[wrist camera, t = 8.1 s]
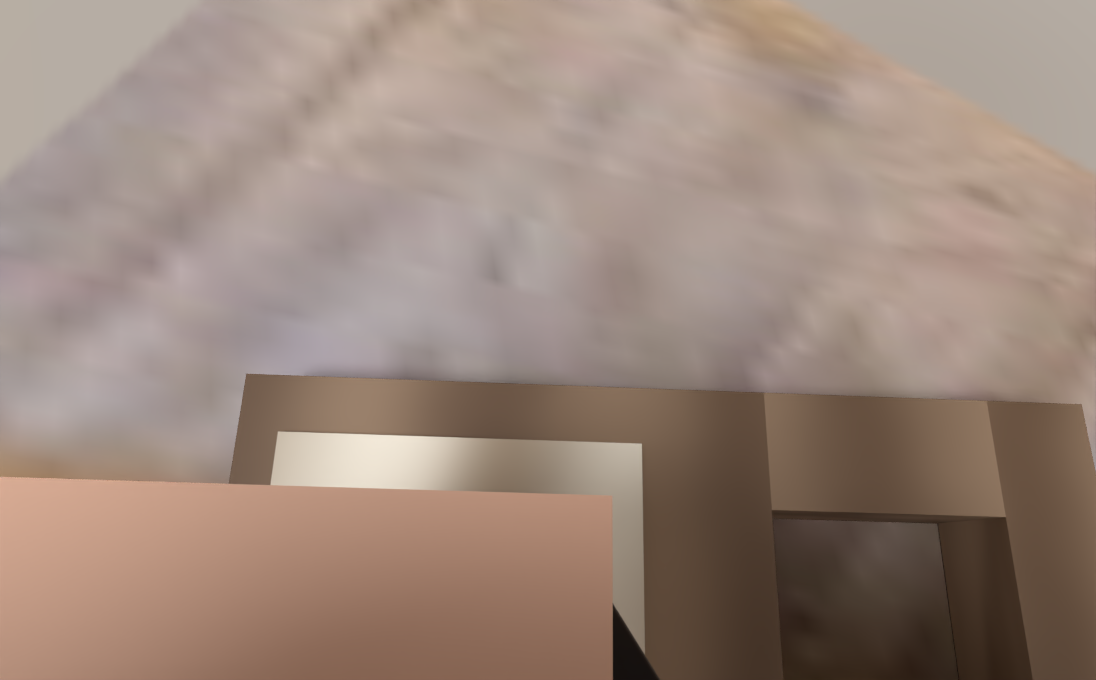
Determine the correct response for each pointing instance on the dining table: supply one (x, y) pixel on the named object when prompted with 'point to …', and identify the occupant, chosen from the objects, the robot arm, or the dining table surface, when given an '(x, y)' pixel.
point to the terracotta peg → (301, 583)
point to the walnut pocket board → (733, 497)
